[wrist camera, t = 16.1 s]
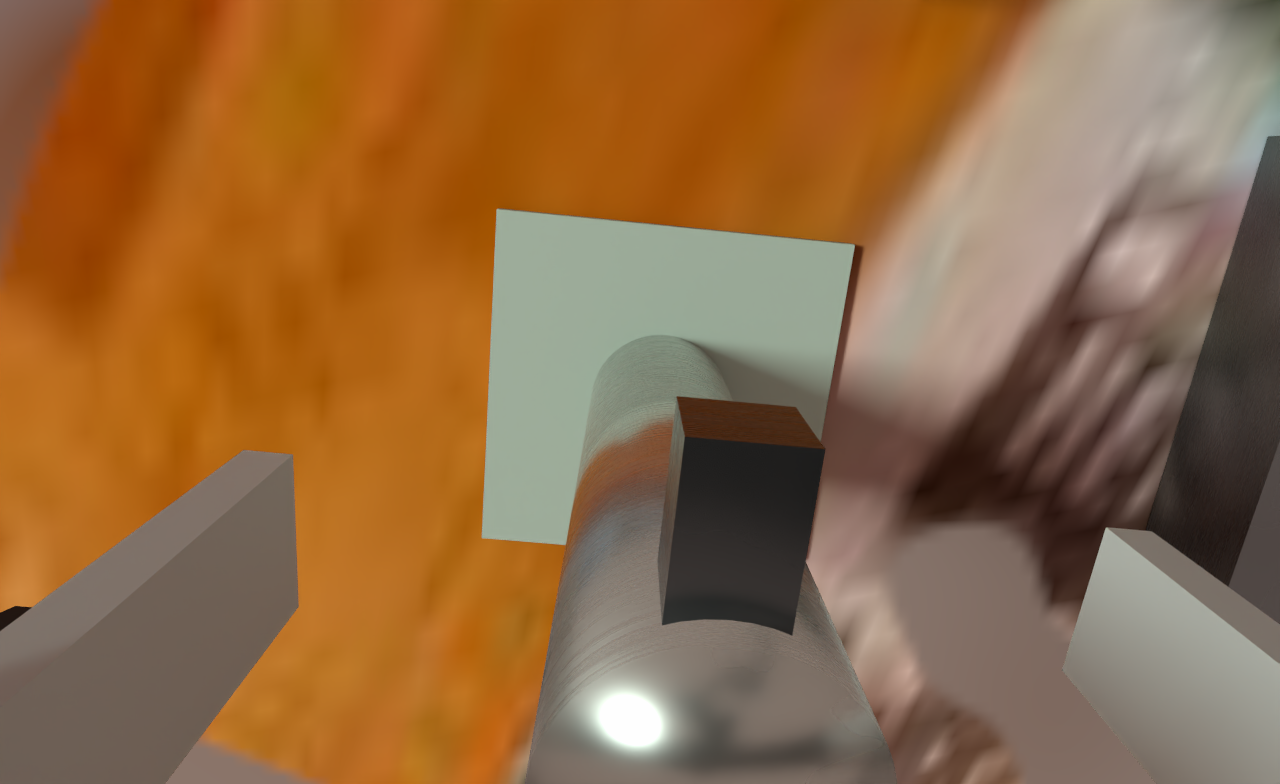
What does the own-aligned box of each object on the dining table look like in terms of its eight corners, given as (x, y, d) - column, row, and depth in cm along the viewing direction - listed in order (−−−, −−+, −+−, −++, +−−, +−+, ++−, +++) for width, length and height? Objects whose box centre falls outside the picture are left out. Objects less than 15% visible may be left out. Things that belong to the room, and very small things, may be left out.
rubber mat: (499, 208, 21) (496, 209, 21) (851, 243, 22) (855, 245, 21) (484, 531, 24) (481, 538, 24) (796, 557, 25) (799, 564, 24)
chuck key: (581, 518, 24) (505, 1065, 9) (602, 258, 21) (546, 442, 7) (709, 529, 24) (831, 1083, 9) (744, 272, 22) (976, 479, 7)
